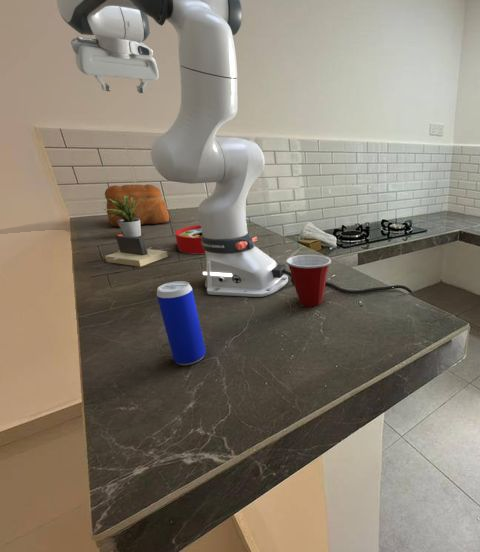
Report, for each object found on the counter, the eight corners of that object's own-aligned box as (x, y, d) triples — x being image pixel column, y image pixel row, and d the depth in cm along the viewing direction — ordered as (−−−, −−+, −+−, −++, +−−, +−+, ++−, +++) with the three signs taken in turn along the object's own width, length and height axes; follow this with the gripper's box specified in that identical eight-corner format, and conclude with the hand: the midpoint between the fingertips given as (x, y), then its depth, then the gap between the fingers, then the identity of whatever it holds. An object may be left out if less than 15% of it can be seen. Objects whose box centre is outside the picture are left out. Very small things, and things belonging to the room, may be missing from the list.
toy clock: (160, 235, 112) (199, 222, 130) (164, 251, 114) (202, 236, 133) (215, 239, 111) (246, 226, 129) (218, 256, 113) (248, 240, 131)
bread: (171, 224, 148) (163, 186, 141) (110, 229, 135) (97, 188, 129) (168, 216, 160) (160, 181, 154) (111, 221, 148) (100, 183, 142)
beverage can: (211, 350, 64) (197, 280, 58) (197, 367, 59) (180, 293, 53) (184, 349, 64) (167, 279, 58) (168, 366, 59) (147, 292, 53)
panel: (172, 255, 111) (170, 249, 110) (135, 268, 99) (133, 261, 98) (137, 250, 114) (136, 245, 113) (98, 263, 102) (96, 256, 101)
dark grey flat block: (147, 253, 106) (143, 236, 103) (143, 255, 104) (138, 238, 102) (125, 250, 107) (120, 234, 105) (120, 252, 106) (115, 235, 104)
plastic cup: (339, 296, 88) (338, 255, 84) (319, 314, 79) (317, 269, 74) (304, 290, 91) (301, 249, 86) (281, 307, 81) (276, 262, 77)
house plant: (111, 232, 132) (99, 191, 126) (153, 229, 139) (143, 190, 133) (106, 241, 121) (92, 197, 115) (152, 237, 128) (141, 195, 122)
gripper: (74, 39, 88) (87, 93, 97) (158, 51, 104) (163, 97, 112) (64, 31, 90) (78, 85, 99) (148, 44, 105) (154, 90, 114)
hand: (124, 91), depth 105 cm, fingers open, 8 cm apart
